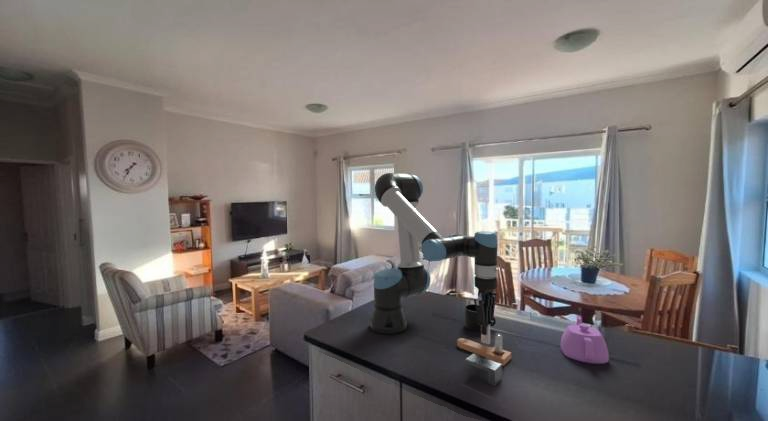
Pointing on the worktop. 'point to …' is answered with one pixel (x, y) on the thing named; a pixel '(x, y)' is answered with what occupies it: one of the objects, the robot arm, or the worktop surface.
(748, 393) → the worktop surface
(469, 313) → the mug
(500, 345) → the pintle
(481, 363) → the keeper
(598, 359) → the teapot
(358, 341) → the worktop surface
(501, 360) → the link
